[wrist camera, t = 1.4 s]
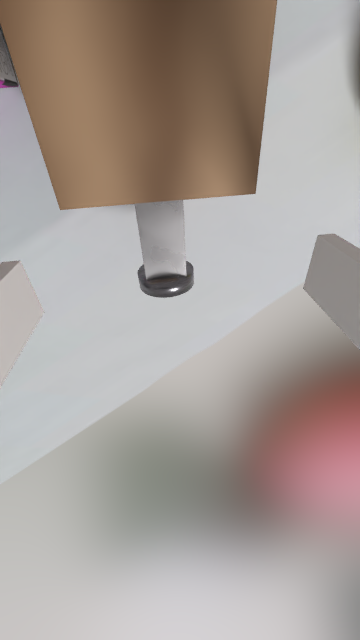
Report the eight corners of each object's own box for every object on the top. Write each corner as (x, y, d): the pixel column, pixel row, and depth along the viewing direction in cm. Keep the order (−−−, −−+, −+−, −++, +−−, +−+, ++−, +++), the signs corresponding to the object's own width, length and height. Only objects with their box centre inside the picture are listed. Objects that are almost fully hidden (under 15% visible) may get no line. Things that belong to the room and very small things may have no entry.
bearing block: (64, 176, 23) (-1, 214, 13) (14, 1, 17) (-186, -184, 7) (242, 162, 23) (311, 188, 13) (256, -11, 17) (400, -195, 7)
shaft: (140, 273, 23) (139, 300, 19) (58, -227, 10) (9, -419, 6) (190, 268, 23) (197, 294, 19) (172, -228, 10) (185, -416, 7)
